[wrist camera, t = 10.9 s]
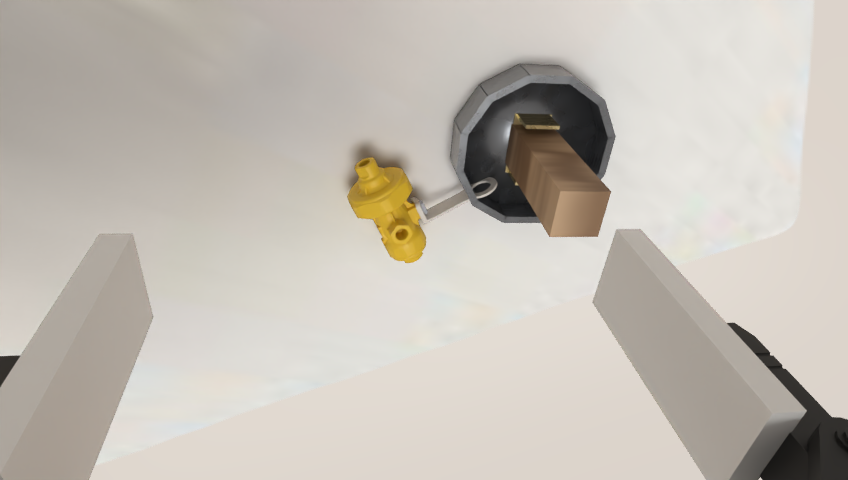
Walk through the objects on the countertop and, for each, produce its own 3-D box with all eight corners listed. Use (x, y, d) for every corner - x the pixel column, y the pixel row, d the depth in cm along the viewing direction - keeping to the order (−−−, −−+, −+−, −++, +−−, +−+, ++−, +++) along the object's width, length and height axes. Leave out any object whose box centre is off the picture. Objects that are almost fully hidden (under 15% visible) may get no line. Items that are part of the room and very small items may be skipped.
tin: (444, 205, 49) (451, 224, 46) (460, 61, 42) (469, 73, 39) (579, 206, 51) (592, 224, 48) (615, 68, 44) (633, 79, 41)
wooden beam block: (505, 162, 47) (549, 236, 37) (511, 124, 45) (560, 191, 35) (543, 163, 47) (597, 236, 37) (551, 125, 45) (611, 191, 35)
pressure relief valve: (381, 254, 50) (330, 165, 45) (493, 195, 51) (457, 99, 45) (395, 285, 46) (340, 191, 40) (518, 220, 46) (481, 117, 41)
